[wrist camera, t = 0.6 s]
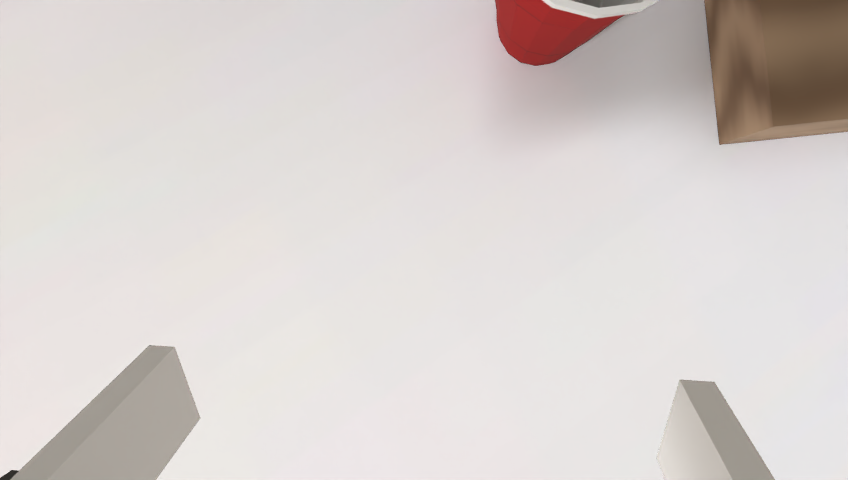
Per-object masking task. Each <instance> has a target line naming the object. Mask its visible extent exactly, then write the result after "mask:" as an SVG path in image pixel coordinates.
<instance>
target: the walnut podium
mask: <svg viewBox="0 0 848 480" xmlns="http://www.w3.org/2000/svg"><path fill="white" fill-rule="evenodd" d="M704 1H705V10H706V20H707V30H708V39H709V49H710V58H711V68H712V78H713V87H714V97H715V107H716V116H717V126H718V135H719V145H721V144H731V143H741V142H751V141H760V140H770V139H780V138H790V137H799V136H809V135H819V134H829V133H839V132H848V0H704Z"/></svg>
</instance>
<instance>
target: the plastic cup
mask: <svg viewBox="0 0 848 480" xmlns="http://www.w3.org/2000/svg"><path fill="white" fill-rule="evenodd" d="M658 1H659V0H495V3H496V9H497V26H498V33H499V38H500V41H501V42H502V44H503V45H504V47H505V49H506V50H507V52H508V54H510V55H511V56H513V57H514V58H515V59H517V60H518V61H520V62H521V63H526V64H530V65H534V66H538V65H544V64H550V63H553V62H556V61H557V60H559V59H561V58H562V57H564V56H565V55H567V54H569V53H570V52H571V51H573V50H574V49H576V48H577V47H579V46H580V45H582V44H584V43H585V42H587V41H588V40H590V39H591V38H592V37H594V36H595V35H597V34H598V33H599V32H601V31H602V30H603V29H605V28H606V27H607V26H609V25H610V24H612V23H613V22H614V21H616V20H617V19H619V18H620V17H622V16H624V15H626V14H634V13H638V12H640V11H642V10H644V9H646V8H647V7H649V6H651V5H653V4H654V3H656V2H658Z"/></svg>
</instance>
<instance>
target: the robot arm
mask: <svg viewBox="0 0 848 480" xmlns="http://www.w3.org/2000/svg"><path fill="white" fill-rule="evenodd" d="M199 419H200V416H199V413H198V410H197V408H196V405H195V402H194V399H193V397H192V394H191V391H190V388H189V386H188V383H187V380H186V377H185V374H184V372H183V369H182V366H181V363H180V361H179V358H178V355H177V352H176V350H175V347H167V346H152V345H149V346H148V347H147V348H146V349H145V350H144V351H143V352H142V353H141V354H140V355H139V356H138V357H137V358H136V359H135V360H134V361H133V362H132V363H131V364H130V365H129V366H127V367H126V368H125V369H124V370H123V371H122V372H121V373H120V374H119V375H118V376H117V377H116V378H115V379H114V380H113V381H112V382H111V383H110V384H109V385H108V386H107V387H106V388H105V389H104V390H103V391H102V392H100V393H99V394H98V395H97V396H96V397H95V398H94V399H93V400H92V401H91V402H90V403H89V404H88V405H87V406H86V407H85V408H84V409H83V410H82V411H81V412H80V413H79V414H78V415H77V416H76V417H75V418H74V419H72V420H71V421H70V422H69V423H68V424H67V425H66V426H65V427H64V428H63V429H62V430H61V431H60V432H59V433H58V434H57V435H56V436H55V437H54V438H53V439H52V440H51V441H50V442H49V443H48V444H47V445H45V446H44V447H43V448H42V449H41V450H40V451H39V452H38V453H37V454H36V455H35V456H34V457H33V458H32V459H31V460H30V461H29V462H28V463H27V464H26V465H25V466H24V467H23V468H22V469H21V470H20V471H16V470H11V471H10V472H8V473H7V474H5V475H4V476H2V477H1V478H0V480H156V479H157V478H158V476H159V475H160V473H161V472H162V471H163V469H164V468H165V466H166V465H167V464H168V462H169V461H170V459H171V458H172V457H173V455H174V454H175V453H176V451H177V450H178V448H179V447H180V446H181V444H182V443H183V441H184V440H185V439H186V437H187V436H188V435H189V433H190V432H191V430H192V429H193V428H194V426H195V425H196V423H197V422H198V421H199ZM656 458H657V461H658V464H659V466H660V469H661V471H662V474H663V477H664V479H665V480H775V479H774V477H773V476H772V474H771V473H770V471H769V469H768V468H767V466H766V464H765V463H764V461H763V460H762V458H761V456H760V455H759V453H758V452H757V450H756V448H755V447H754V445H753V444H752V442H751V440H750V439H749V437H748V436H747V434H746V432H745V431H744V429H743V428H742V426H741V424H740V423H739V421H738V419H737V418H736V416H735V415H734V413H733V411H732V410H731V408H730V407H729V405H728V403H727V402H726V400H725V399H724V397H723V395H722V394H721V392H720V391H719V389H718V387H717V386H716V384H715V382H707V381H692V380H679V383H678V387H677V390H676V393H675V397H674V400H673V403H672V407H671V410H670V414H669V417H668V420H667V424H666V427H665V430H664V434H663V437H662V441H661V444H660V447H659V451H658V454H657V457H656Z"/></svg>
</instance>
